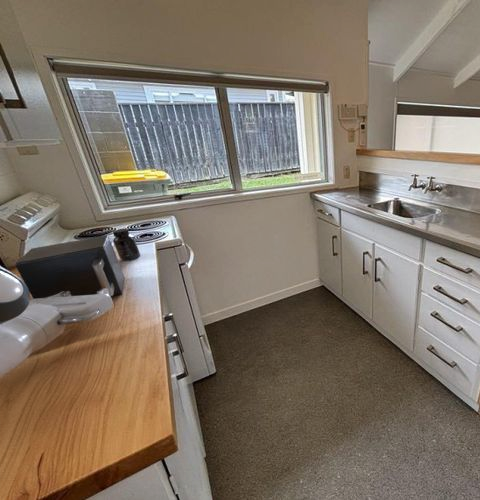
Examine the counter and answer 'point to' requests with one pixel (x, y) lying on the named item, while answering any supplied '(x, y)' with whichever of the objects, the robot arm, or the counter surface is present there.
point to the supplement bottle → (125, 245)
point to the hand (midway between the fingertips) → (86, 292)
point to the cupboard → (78, 247)
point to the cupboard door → (70, 274)
